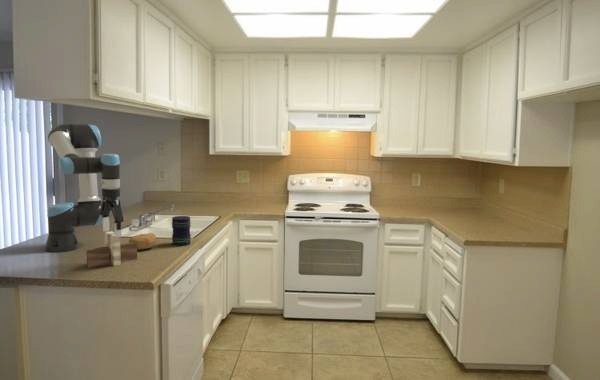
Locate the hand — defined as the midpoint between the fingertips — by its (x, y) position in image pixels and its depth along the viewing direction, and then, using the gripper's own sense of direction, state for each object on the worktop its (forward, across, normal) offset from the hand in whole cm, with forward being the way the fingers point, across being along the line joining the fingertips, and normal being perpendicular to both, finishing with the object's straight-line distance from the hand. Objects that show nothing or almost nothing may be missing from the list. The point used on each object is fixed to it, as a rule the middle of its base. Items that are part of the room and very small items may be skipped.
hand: (112, 233), depth 188 cm
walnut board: (+14, +1, 0) cm, 14 cm away
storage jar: (+14, -10, +42) cm, 45 cm away
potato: (+14, -13, +21) cm, 29 cm away
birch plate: (+14, 0, 0) cm, 14 cm away
